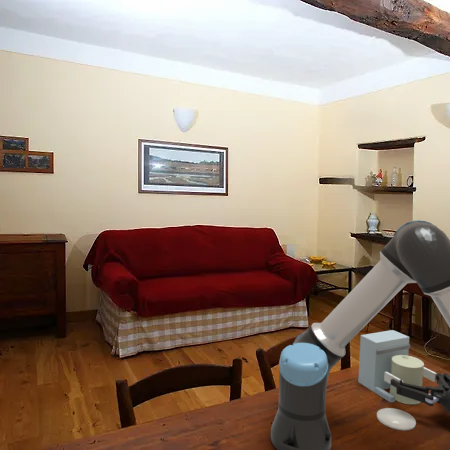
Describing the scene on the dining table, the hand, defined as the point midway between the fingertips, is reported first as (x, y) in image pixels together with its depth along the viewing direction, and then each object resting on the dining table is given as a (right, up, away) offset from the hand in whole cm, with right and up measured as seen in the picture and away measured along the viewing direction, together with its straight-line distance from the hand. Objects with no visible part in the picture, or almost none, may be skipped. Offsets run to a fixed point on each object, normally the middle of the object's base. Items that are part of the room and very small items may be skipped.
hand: (401, 372), depth 128 cm
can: (+1, -7, -1) cm, 8 cm away
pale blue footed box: (-2, -7, +4) cm, 8 cm away
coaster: (-8, -8, -14) cm, 18 cm away
